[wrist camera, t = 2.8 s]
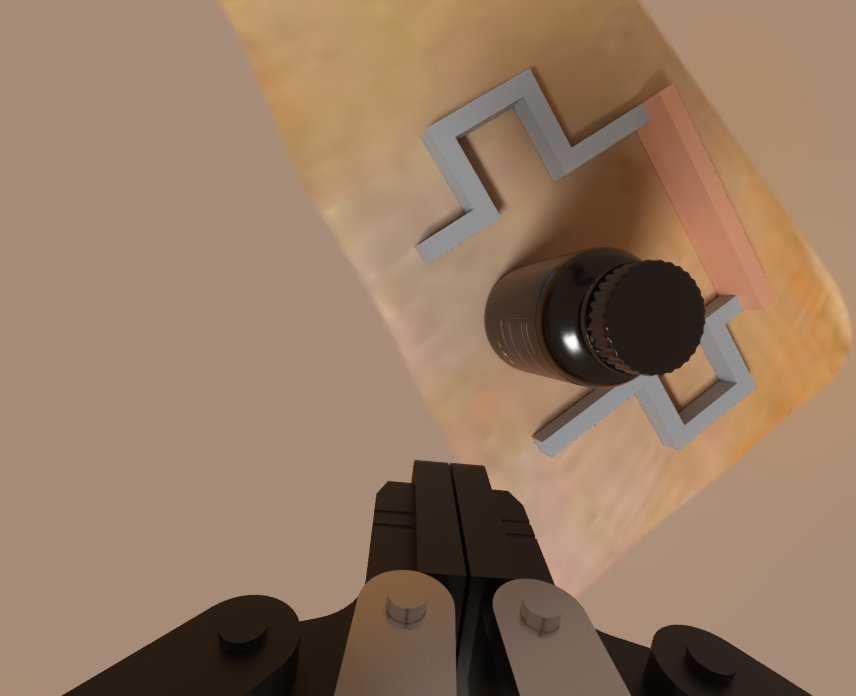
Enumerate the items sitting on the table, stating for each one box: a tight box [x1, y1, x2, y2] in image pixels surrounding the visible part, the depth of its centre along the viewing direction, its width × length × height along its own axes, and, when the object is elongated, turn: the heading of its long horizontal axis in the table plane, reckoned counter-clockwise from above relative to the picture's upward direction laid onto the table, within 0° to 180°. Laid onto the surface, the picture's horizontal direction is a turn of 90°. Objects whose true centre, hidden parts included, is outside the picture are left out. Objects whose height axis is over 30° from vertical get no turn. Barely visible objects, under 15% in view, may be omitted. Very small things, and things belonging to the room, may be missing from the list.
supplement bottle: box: [484, 247, 706, 389], centre depth 26 cm, size 7×7×12 cm
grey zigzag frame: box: [415, 68, 776, 458], centre depth 31 cm, size 26×18×3 cm
